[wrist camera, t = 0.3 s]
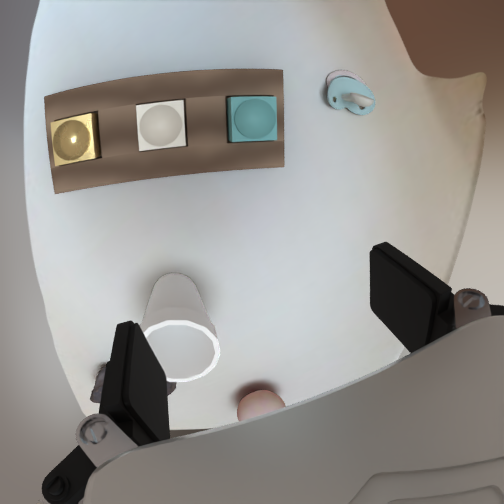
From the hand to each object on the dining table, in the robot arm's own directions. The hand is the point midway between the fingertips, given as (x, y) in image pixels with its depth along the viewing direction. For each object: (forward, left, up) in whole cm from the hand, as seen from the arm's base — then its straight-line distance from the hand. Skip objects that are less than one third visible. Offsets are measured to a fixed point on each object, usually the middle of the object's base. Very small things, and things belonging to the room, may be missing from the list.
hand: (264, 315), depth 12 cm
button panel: (-7, -4, -30) cm, 31 cm away
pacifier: (-11, +20, -30) cm, 37 cm away
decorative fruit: (+41, +6, -30) cm, 51 cm away
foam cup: (+16, -5, -30) cm, 34 cm away
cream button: (-7, -4, -28) cm, 29 cm away
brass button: (-7, -14, -28) cm, 32 cm away
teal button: (-7, +6, -28) cm, 29 cm away
